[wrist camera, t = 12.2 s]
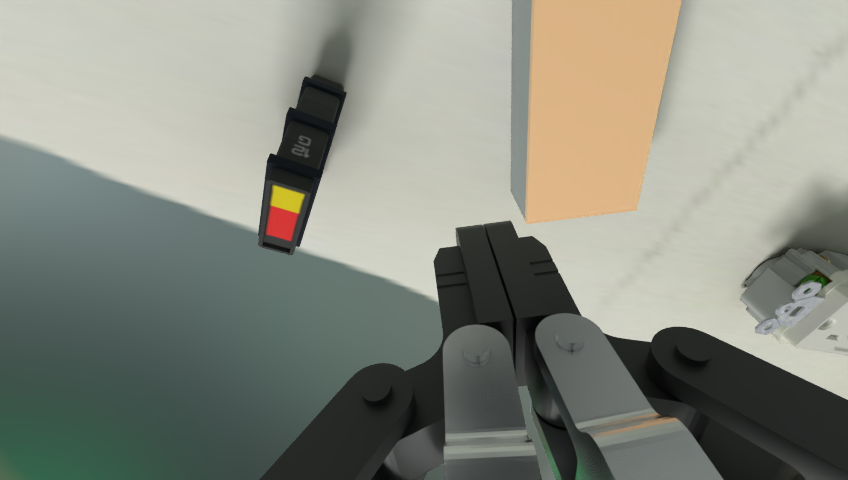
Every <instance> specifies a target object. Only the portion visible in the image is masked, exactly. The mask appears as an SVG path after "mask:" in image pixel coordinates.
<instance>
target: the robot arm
mask: <svg viewBox="0 0 848 480" xmlns="http://www.w3.org/2000/svg"><path fill="white" fill-rule="evenodd" d="M456 241H457V246H454V247H447V248H440V249H439V251H438V253H437V255H436V257H435V260H434V268H435V275H436V283H437V291H438V298H439V306H440V313H441V321H442V328H443V341H442V344H441V346H440V348H439V349H438V351H437V352H436V353H435V355H434V356H432V358H430V359H429V360H428V361H426V362H424V363H422V364H420V365H418V366H416V367H414V368H411V369H409V370H407V371H404V370H403V369H401V368H399V367H398V366H395V365H392V364H386V363H381V364H374V365H370V366H368V367H365V368H363V369H362V370H360V371H358V372H357V373H356V374H355V375H354V376H353V377H352V378H351V379H350V380H349V381H348V382H347V383H346V384H345V385H344V386H343V388H342V389H341V390H340V391H339V392H338V393H337V394H336V395H335V397H333V399H332V400H331V401H330V402H329V403H328V404H327V405H326V406H325V408H324V409H323V410H322V411H321V412H320V413H319V414H318V415H317V416H316V418H315V419H314V420H313V421H312V422H311V423H310V424H309V425H308V427H307V428H306V429H305V430H304V431H303V432H302V433H301V434H300V435H299V437H298V438H297V439H296V440H295V441H294V442H293V443H292V444H291V445H290V446H289V448H288V449H287V450H286V451H285V452H284V453H283V454H282V455H281V457H280V458H279V459H278V460H277V461H276V462H275V463H274V464H273V465H272V466H271V468H270V469H269V470H268V471H267V472H266V473H265V474H264V475H263V477H262V478H261V479H260V480H424V478H425V476H426V474H427V472H428V471H430V470H432V469H434V468H436V467H438V466H440V465H442V464H444V480H542V479H541V475H540V470H539V465H538V460H537V455H536V451H535V448H534V445H533V442H532V440H531V439H529V437H528V435H527V431H526V426H525V421H524V416H523V411H522V406H521V401H520V396H519V391H518V386H526V385H527V387H528V390H529V394H530V397H531V416H532V419H533V422H534V425H535V427H536V430H537V433H538V435H539V438H540V440H541V443H542V446H543V448H544V451H545V453H546V456H547V459H548V461H549V464H550V467H551V469H552V472H553V474H554V477H555V479H556V480H848V400H846V399H844V398H842V397H840V396H838V395H836V394H834V393H832V392H829V391H827V390H825V389H823V388H821V387H819V386H817V385H815V384H813V383H810V382H808V381H806V380H804V379H802V378H800V377H798V376H796V375H793V374H791V373H789V372H787V371H785V370H783V369H781V368H779V367H776V366H774V365H772V364H770V363H768V362H766V361H764V360H762V359H760V358H757V357H755V356H753V355H751V354H749V353H747V352H745V351H743V350H740V349H738V348H736V347H734V346H732V345H730V344H728V343H726V342H723V341H721V340H719V339H717V338H715V337H713V336H711V335H709V334H706V333H704V332H702V331H699V330H696V329H692V328H687V327H670V328H666V329H663V330H661V331H659V332H658V333H657V334H655V336H654V337H653V339H652V342H645V341H637V340H630V339H622V338H617V337H613V336H609V335H607V334H604V333H603V332H602V331H601V329H600V328H599V327H598V326H597V325H596V324H595V323H593V322H592V321H590V320H589V319H587V318H585V317H582V316H581V314H580V312H579V310H578V308H577V306H576V304H575V302H574V300H573V299H572V297H571V295H570V293H569V291H568V289H567V287H566V285H565V283H564V281H563V279H562V277H561V275H560V273H558V269H557V267H556V265H555V263H554V262H553V260H552V258H551V256H550V254H549V252H548V250H547V248H546V246H545V245H543V244H542V243H541V242H539V241H538V240H537V239H535V238H534V237H533V236H529V237H521V238H518V236H517V233H516V231H515V229H514V226H513V224H512V222H511V221H504V222H496V223H489V224H484V225H474V226H467V227H459V228H456Z"/></svg>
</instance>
